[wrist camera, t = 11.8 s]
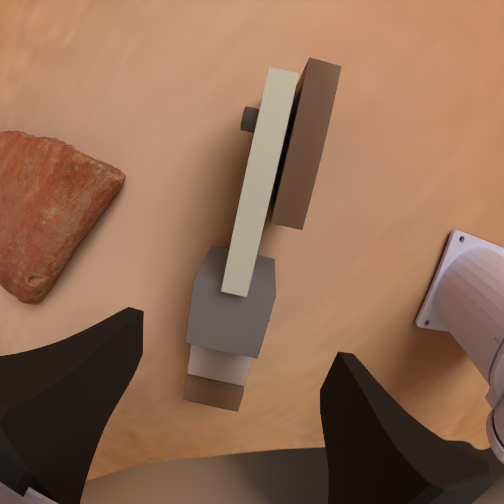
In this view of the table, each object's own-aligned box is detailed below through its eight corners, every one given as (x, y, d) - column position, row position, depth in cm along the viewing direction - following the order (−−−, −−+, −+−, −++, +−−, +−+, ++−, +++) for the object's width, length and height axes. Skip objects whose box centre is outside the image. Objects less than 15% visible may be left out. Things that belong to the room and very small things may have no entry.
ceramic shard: (-7, 52, 11) (122, 188, 17) (34, 66, 17) (143, 175, 23) (-81, 209, 13) (20, 330, 19) (-41, 193, 19) (50, 293, 25)
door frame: (319, 89, 17) (341, 66, 11) (245, 376, 24) (239, 432, 18) (250, 74, 17) (242, 43, 11) (194, 365, 24) (177, 419, 18)
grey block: (274, 259, 20) (275, 295, 15) (260, 312, 21) (257, 358, 16) (212, 245, 20) (194, 277, 15) (202, 299, 21) (185, 342, 16)
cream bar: (289, 96, 17) (298, 73, 11) (253, 251, 20) (246, 297, 14) (256, 89, 17) (250, 63, 11) (223, 245, 20) (204, 287, 14)
